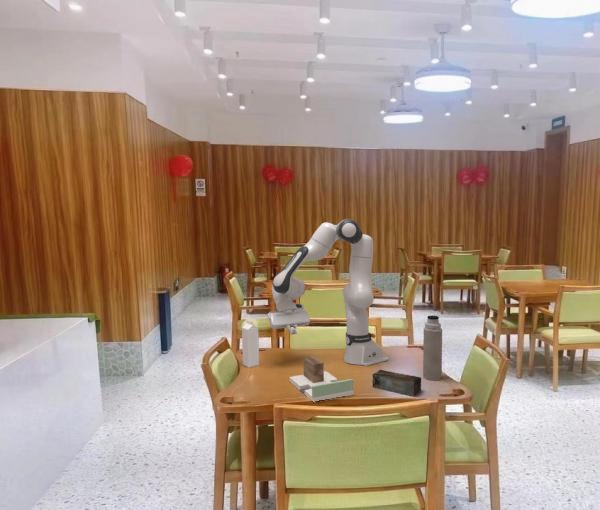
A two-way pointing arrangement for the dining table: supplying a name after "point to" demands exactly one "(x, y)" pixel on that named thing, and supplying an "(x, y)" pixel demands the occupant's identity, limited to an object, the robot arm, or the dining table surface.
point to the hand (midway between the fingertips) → (293, 333)
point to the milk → (250, 344)
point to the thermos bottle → (432, 349)
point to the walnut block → (313, 369)
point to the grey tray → (323, 387)
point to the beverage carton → (397, 382)
